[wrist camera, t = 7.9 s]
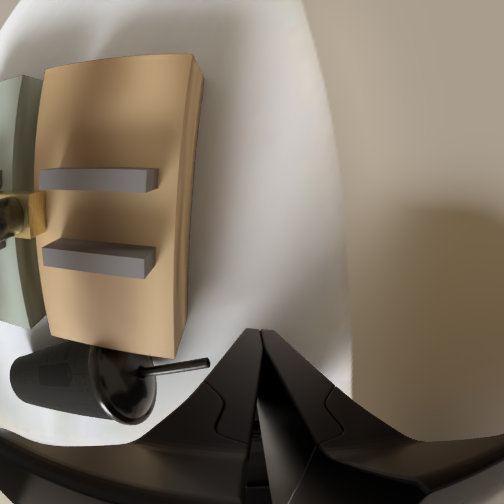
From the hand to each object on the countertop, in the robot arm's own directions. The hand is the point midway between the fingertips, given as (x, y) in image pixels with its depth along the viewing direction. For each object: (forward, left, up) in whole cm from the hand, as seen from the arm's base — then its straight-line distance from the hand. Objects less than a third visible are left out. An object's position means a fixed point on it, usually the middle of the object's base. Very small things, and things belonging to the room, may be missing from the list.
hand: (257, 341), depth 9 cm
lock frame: (+14, -2, -12) cm, 19 cm away
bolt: (+17, -2, -7) cm, 18 cm away
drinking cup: (+20, +15, -10) cm, 27 cm away
